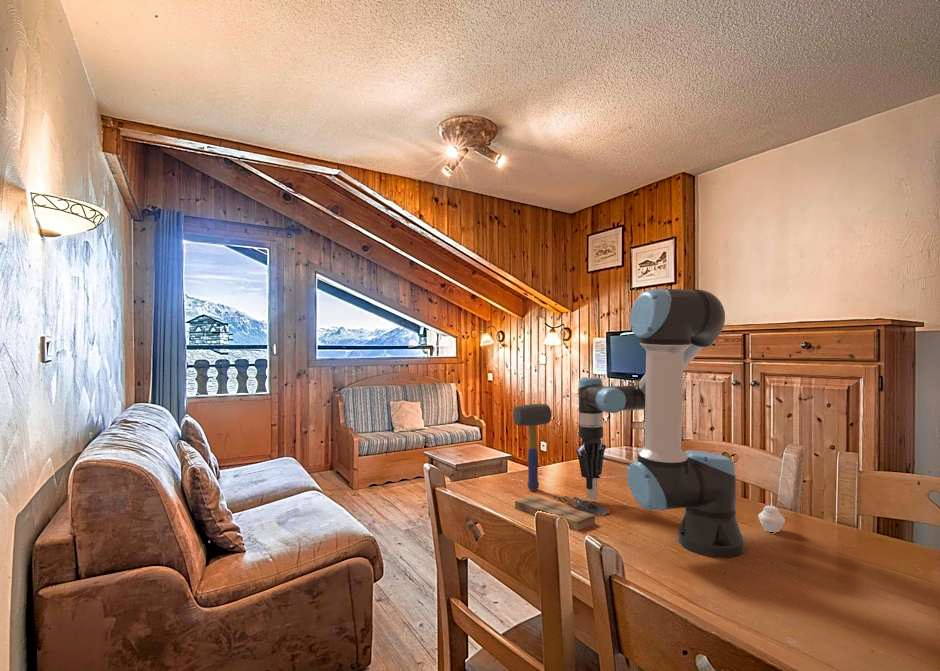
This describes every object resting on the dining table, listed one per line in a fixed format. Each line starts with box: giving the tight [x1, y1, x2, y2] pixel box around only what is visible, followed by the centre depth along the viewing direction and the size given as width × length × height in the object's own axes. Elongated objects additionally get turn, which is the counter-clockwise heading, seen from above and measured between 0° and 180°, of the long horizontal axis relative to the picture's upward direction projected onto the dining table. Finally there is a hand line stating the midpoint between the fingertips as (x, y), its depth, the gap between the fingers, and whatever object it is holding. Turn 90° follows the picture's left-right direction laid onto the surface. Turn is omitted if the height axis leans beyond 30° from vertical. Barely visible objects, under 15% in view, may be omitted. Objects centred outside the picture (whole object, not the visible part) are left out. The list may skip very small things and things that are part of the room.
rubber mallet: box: [512, 403, 553, 492], centre depth 173 cm, size 12×8×30 cm, turn 111°
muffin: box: [758, 505, 786, 533], centre depth 134 cm, size 6×6×7 cm
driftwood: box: [552, 495, 611, 517], centre depth 156 cm, size 21×7×2 cm, turn 29°
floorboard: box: [514, 495, 596, 532], centre depth 147 cm, size 24×8×2 cm, turn 40°
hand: (591, 498), depth 160 cm, fingers closed
